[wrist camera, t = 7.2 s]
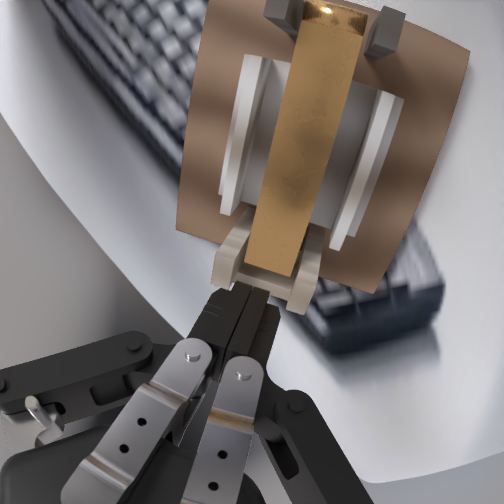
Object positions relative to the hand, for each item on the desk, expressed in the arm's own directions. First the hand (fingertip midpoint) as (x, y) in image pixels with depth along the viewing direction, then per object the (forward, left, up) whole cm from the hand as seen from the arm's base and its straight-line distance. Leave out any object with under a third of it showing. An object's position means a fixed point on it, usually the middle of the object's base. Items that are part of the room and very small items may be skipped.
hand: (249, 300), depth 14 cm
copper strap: (-5, 0, -7) cm, 9 cm away
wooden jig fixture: (-4, 0, -13) cm, 14 cm away
